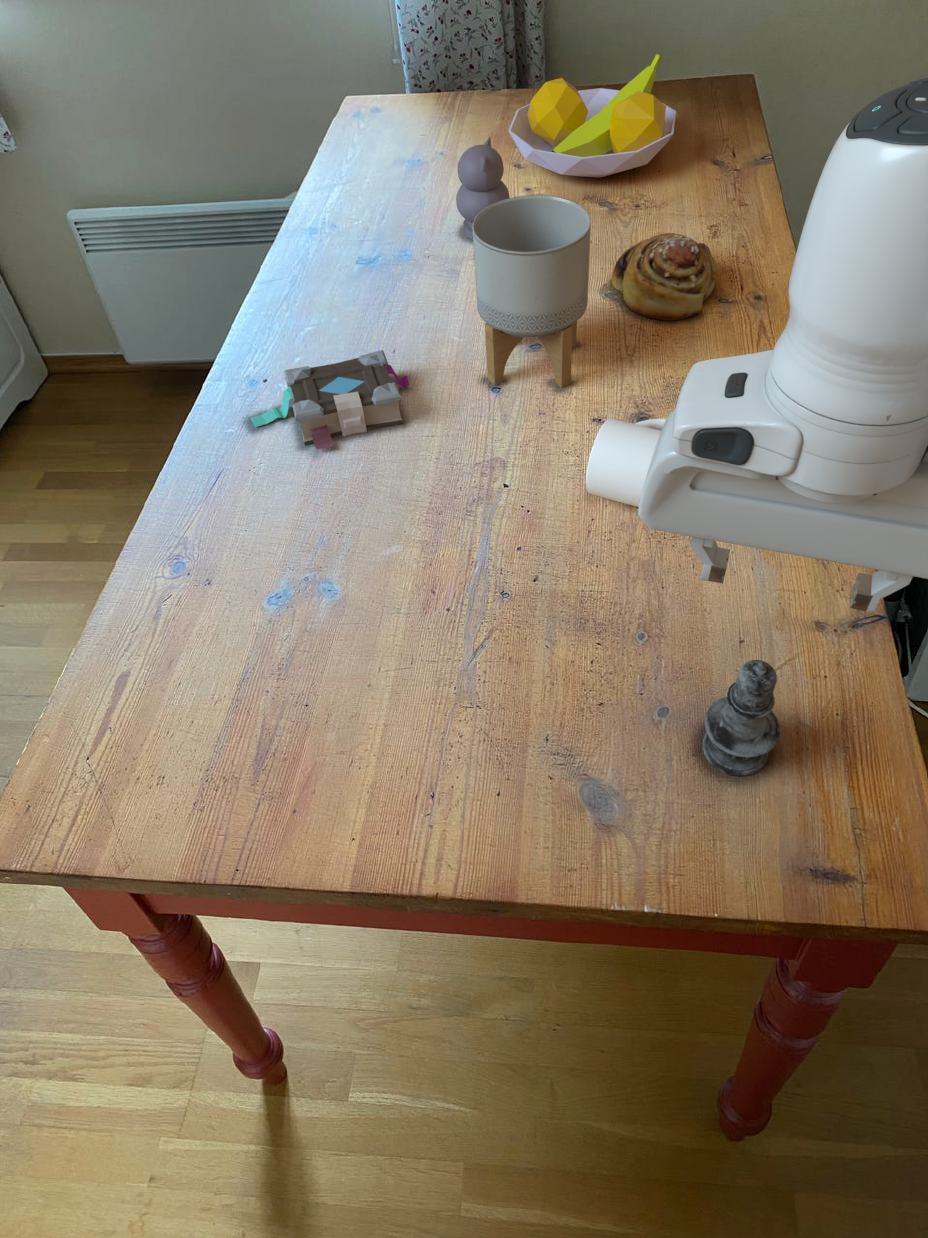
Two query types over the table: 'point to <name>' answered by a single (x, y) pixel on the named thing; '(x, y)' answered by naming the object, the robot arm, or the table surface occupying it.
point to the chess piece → (743, 722)
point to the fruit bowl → (593, 127)
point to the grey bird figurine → (479, 183)
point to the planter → (531, 277)
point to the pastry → (666, 276)
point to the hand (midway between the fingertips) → (785, 589)
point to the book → (340, 398)
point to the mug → (622, 459)
